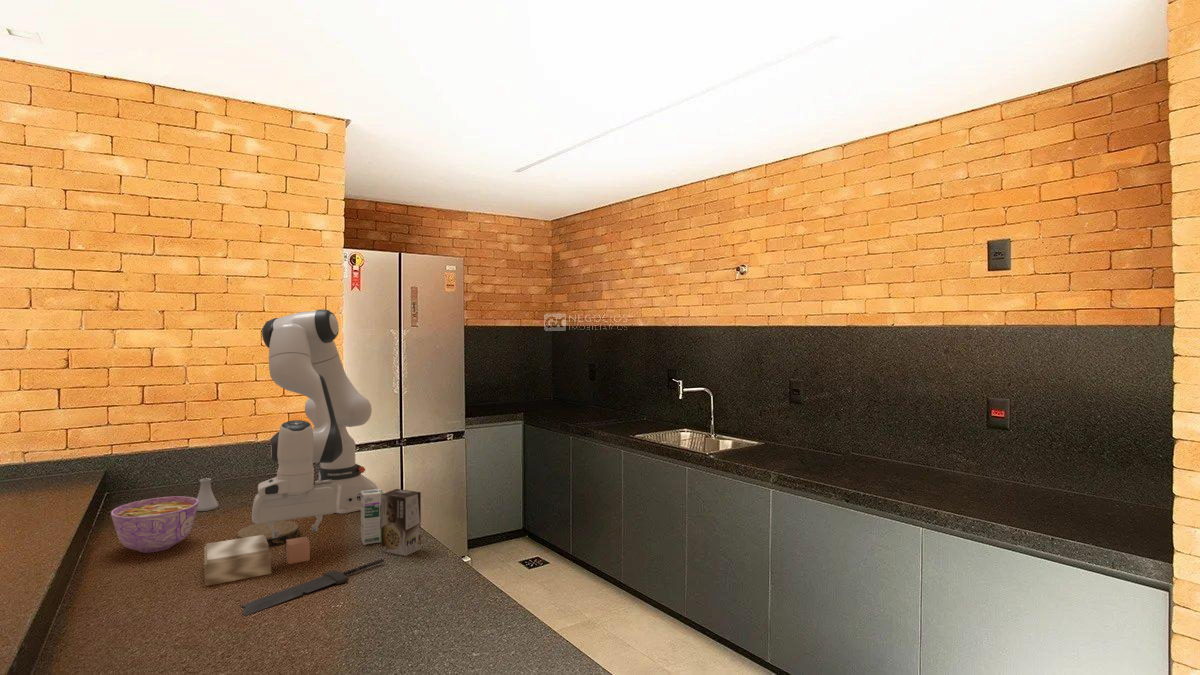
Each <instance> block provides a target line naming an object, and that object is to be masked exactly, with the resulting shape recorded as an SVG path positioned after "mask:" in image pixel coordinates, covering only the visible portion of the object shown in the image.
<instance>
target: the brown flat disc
mask: <svg viewBox="0 0 1200 675" xmlns="http://www.w3.org/2000/svg"><path fill="white" fill-rule="evenodd" d="M272 527H273V528H274V530H278V531H279V534H278V535H279V537H278V538H272V532H271V530H270V529H269V527H268V525H267V523H260V524H255V523H253V524H251V525H250V524H249V525H247V526H245V527H242V528H241V529H239V530H238V531H237V532H236V539H239V538H246V537H252V536H258V535H264V537H266V539H267V542H268V545H269V548H270V547H271V548H272V547H276V546H280V545H284V544H286V540H288V539H294V538H299V534H300V530H299V529H300V527H299V523H298V522H295V521H292V520H282V521H274V525H273V526H272Z"/></svg>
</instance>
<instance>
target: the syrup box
mask: <svg viewBox="0 0 1200 675" xmlns="http://www.w3.org/2000/svg"><path fill="white" fill-rule="evenodd" d="M381 494H384V491H383V489H382V488H378V489H374V490H365V491H361V510H360V539H361V542H362V545H363V546H366V545H370V544H371V545H372V544H379V543H382V538H381Z"/></svg>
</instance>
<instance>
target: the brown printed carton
mask: <svg viewBox="0 0 1200 675" xmlns="http://www.w3.org/2000/svg"><path fill="white" fill-rule="evenodd" d="M383 493H384V492H383ZM421 493H422V492H421V491H414V490H407V489H399V488H395V489H391V490H390V491H387V492H385V493H384V494H381V538H382V542H381V552H384V553H389V554H394V555H400V556H404V557H407V556H409V555H411V554H414V553H416V552H418V551H420V550H421V549H422V547H421V546H422V545H421V544H422V543H421V542H422V540H421V539H422V538H421V537H422V536H421V535H422V534H421V533H422V531H421V530H422V529H421V526H422V524H421V523H422V520H421V519H422V518H421V517H422V516H421V515H422V514H421V513H422V511H421V510H422V508H421V507H422V505H421V502H422V501H421V499H422V498H421V497H422V494H421Z"/></svg>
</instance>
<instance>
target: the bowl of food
mask: <svg viewBox="0 0 1200 675" xmlns="http://www.w3.org/2000/svg"><path fill="white" fill-rule="evenodd" d="M198 503H199V501H198V499H197V497H192V496H178V495H177V496H174V495H173V496H163V497H161V496H160V497H155V498H154V497H153V498H148V499H142V500H137V501H133V502H129V503H126V504H122V505H119V506H118V507H115V508H114V509H112V510H111V511H110V516H111V519H112V523H113V525H114V529H115V533H116V535H117V538H118V540H119V542H120V543H121V544H122V545H123V546H124V547H125V548H127V549H131V550H133V551H138V552H140V553H149V554H150V553H155V552H161V551H166V550H169V549H171V548H172V547H174V546H175V545H177V544H178V543H180V542H181V541H182V540H184V539H185V538H187V536H189V534H190V532H191V530H192V528H193V525H194V522H195V518H196V514H197V512H198V511H197V508H198Z"/></svg>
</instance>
